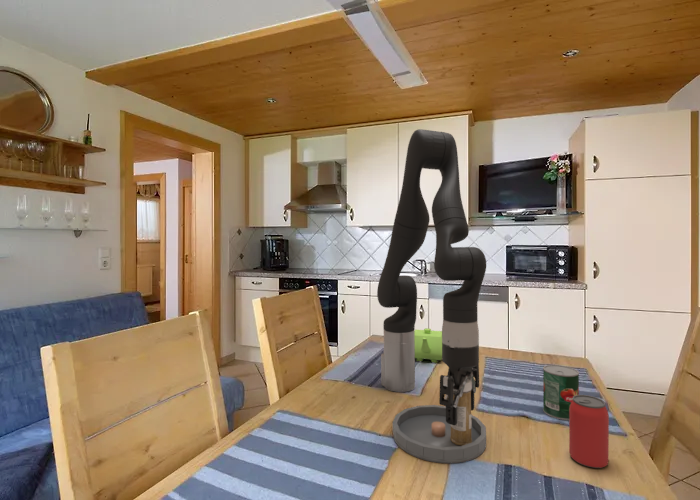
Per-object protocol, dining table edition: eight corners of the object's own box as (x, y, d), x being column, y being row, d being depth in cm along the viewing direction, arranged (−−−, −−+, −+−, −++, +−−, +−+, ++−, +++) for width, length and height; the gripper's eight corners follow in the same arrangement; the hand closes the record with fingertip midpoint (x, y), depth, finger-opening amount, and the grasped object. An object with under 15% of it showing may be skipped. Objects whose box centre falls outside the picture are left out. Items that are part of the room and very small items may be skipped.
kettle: (457, 361, 137) (457, 330, 137) (426, 368, 130) (425, 336, 130) (429, 351, 150) (429, 322, 150) (400, 356, 144) (400, 327, 143)
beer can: (562, 451, 79) (562, 394, 78) (592, 449, 79) (592, 392, 79) (584, 471, 72) (584, 408, 72) (616, 468, 73) (617, 406, 72)
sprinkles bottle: (476, 442, 81) (476, 380, 81) (462, 449, 79) (461, 385, 78) (459, 433, 85) (459, 373, 84) (445, 439, 82) (444, 378, 82)
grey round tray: (375, 440, 84) (375, 427, 84) (422, 409, 99) (422, 398, 99) (461, 476, 71) (461, 461, 71) (499, 434, 86) (499, 421, 86)
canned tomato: (545, 403, 101) (545, 362, 101) (580, 411, 97) (580, 368, 97) (540, 415, 95) (540, 371, 95) (577, 423, 90) (577, 377, 90)
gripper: (458, 331, 89) (458, 400, 89) (427, 345, 78) (428, 423, 79) (490, 337, 84) (490, 409, 84) (462, 352, 73) (462, 435, 74)
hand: (460, 416), depth 82 cm, fingers open, 8 cm apart
